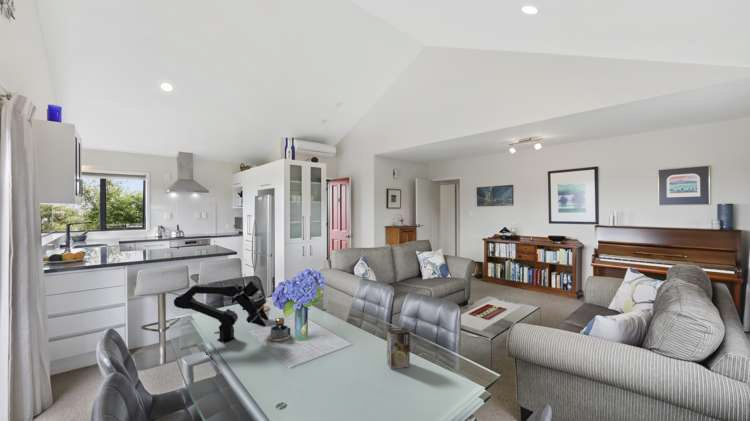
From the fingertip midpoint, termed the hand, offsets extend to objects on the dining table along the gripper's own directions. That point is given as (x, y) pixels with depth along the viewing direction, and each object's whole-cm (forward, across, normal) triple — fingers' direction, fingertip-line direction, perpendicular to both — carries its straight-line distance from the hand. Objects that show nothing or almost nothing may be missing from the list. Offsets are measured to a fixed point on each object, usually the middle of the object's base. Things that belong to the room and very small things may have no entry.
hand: (266, 322), depth 174 cm
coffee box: (+51, -39, -40) cm, 75 cm away
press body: (+11, 0, +1) cm, 11 cm away
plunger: (+10, 0, 0) cm, 10 cm away
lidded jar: (+1, +28, +11) cm, 30 cm away
